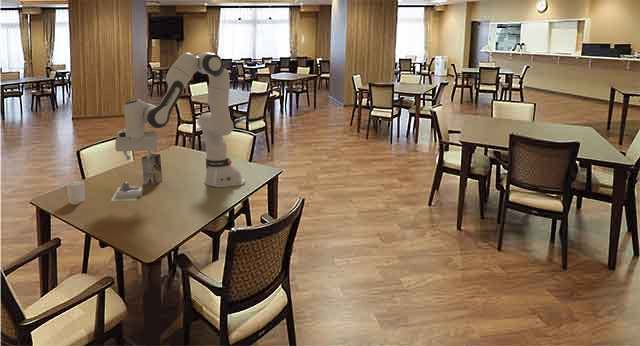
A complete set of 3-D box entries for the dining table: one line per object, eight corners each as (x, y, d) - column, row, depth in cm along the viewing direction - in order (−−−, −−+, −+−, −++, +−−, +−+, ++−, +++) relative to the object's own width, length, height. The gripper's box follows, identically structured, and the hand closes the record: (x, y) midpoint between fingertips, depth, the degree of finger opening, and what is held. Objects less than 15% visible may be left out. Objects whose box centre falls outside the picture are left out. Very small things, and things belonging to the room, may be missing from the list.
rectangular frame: (143, 191, 264) (142, 186, 263) (141, 196, 256) (141, 190, 255) (118, 192, 261) (118, 187, 260) (116, 197, 254) (115, 191, 253)
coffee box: (152, 180, 286) (150, 153, 281) (162, 181, 284) (160, 154, 280) (143, 185, 277) (141, 157, 273) (154, 186, 276) (152, 158, 271)
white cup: (72, 199, 252) (69, 180, 249) (88, 199, 253) (86, 180, 250) (65, 205, 244) (63, 185, 242) (82, 205, 245) (80, 185, 242)
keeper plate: (141, 190, 268) (140, 188, 268) (136, 201, 252) (136, 199, 251) (117, 191, 266) (116, 189, 266) (110, 202, 249) (110, 200, 249)
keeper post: (129, 193, 260) (128, 181, 258) (129, 195, 257) (128, 183, 256) (123, 193, 260) (122, 181, 258) (122, 195, 257) (121, 183, 255)
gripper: (158, 130, 257) (160, 156, 261) (115, 131, 253) (118, 158, 257) (156, 132, 251) (159, 159, 255) (113, 134, 247) (116, 161, 251)
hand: (138, 159), depth 256 cm, fingers open, 8 cm apart
